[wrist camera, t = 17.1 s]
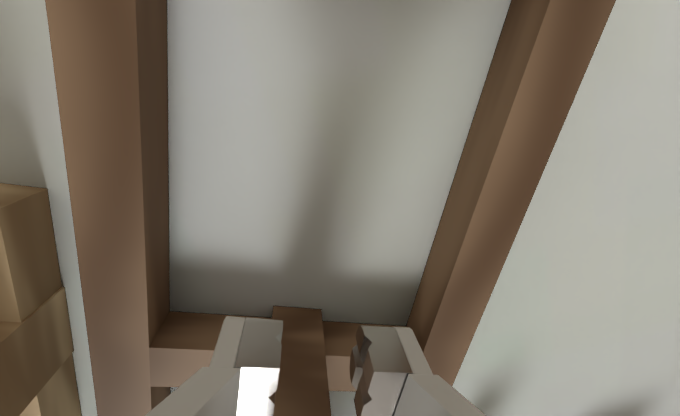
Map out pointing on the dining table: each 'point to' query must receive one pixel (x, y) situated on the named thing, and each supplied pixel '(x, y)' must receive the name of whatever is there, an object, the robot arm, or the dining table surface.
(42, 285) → the tan blocky wooden part
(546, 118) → the brown rectangular open frame
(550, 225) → the dining table surface
